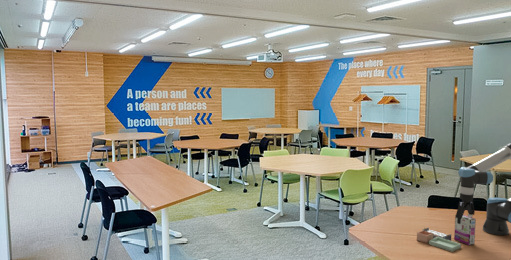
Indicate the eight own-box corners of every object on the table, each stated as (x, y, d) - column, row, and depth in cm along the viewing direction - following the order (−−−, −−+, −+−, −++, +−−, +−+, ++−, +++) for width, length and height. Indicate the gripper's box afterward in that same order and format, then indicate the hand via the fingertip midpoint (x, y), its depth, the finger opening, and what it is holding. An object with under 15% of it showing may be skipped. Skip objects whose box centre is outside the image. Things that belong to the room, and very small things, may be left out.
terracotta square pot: (422, 237, 254) (422, 230, 253) (433, 241, 248) (433, 233, 248) (416, 240, 249) (417, 232, 249) (427, 243, 244) (427, 235, 243)
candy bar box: (474, 244, 243) (476, 218, 241) (469, 245, 241) (470, 219, 239) (459, 238, 253) (460, 213, 251) (453, 239, 251) (454, 214, 249)
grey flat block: (430, 231, 260) (430, 229, 260) (447, 236, 250) (447, 234, 250) (425, 233, 256) (425, 231, 256) (443, 238, 247) (443, 236, 247)
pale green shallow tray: (437, 240, 249) (437, 236, 249) (460, 247, 237) (460, 243, 237) (428, 244, 243) (429, 240, 242) (452, 251, 231) (452, 247, 231)
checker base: (427, 233, 262) (427, 226, 261) (451, 240, 249) (451, 233, 249) (422, 235, 258) (422, 228, 257) (446, 242, 245) (446, 235, 245)
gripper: (469, 189, 254) (467, 221, 256) (450, 194, 239) (448, 228, 241) (482, 191, 248) (479, 224, 250) (463, 197, 233) (460, 232, 235)
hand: (464, 226), depth 246 cm, fingers open, 13 cm apart
